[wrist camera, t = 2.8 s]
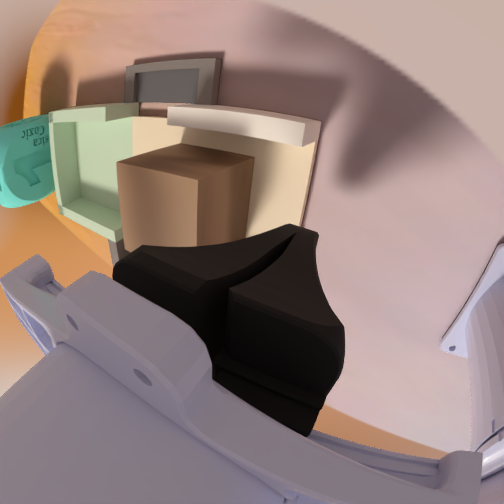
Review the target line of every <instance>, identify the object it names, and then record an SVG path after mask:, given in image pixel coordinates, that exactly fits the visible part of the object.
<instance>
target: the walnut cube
mask: <svg viewBox="0 0 504 504" xmlns="http://www.w3.org/2000/svg"><path fill="white" fill-rule="evenodd" d="M254 161H255V157H252V156H248V155H243V154H238V153H233V152H228V151H223V150H218V149H212V148H207V147H201V146H195V145H189V144H182V143H179V144H175V145H171V146H168V147H164V148H160V149H157V150H153V151H150V152H146V153H143V154H140V155H136V156H133V157H130V158H127V159H124V160H121V161H118V162H116V169H117V183H118V195H119V206H120V215H121V223H122V231H123V238H124V245H125V250H127V251H129V252H132V251H134V250H135V249H137V248H138V247H140V246H141V245H152V246H166V247H193V246H205V245H214V244H222V243H227V242H232V241H237V240H241V239H244V238H245V237H246V229H247V220H248V211H249V203H250V194H251V186H252V177H253V169H254Z"/></svg>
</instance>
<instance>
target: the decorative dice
mask: <svg viewBox="0 0 504 504" xmlns="http://www.w3.org/2000/svg"><path fill="white" fill-rule="evenodd" d="M54 191H55V183H54V176H53V169H52V160H51V149H50V136H49V114H45V115H39V116H34V117H30V118H26V119H22V120H19V121H15V122H13V123H9V124H6V125H4V126H1V127H0V205H2V206H4V207H8V208H14V207H20V206H24V205H28V204H31V203H33V202H36V201H39V200H41V199H43V198H45V197H47V196H48V195H50V194H51V193H53V192H54Z"/></svg>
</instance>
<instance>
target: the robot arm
mask: <svg viewBox="0 0 504 504" xmlns="http://www.w3.org/2000/svg"><path fill="white" fill-rule="evenodd" d="M318 238H319V235H318V233H317V232H315V231H312V230H309V229H306V228H303V227H299V226H296V225H293V224H290V223H289V224H285V225H283V226H280V227H277V228H275V229H272V230H269V231H266V232H263V233H261V234H258V235H254V236H251V237H248V238H244V239H241V240H237V241H232V242H227V243H222V244H214V245H205V246H193V247H166V246H152V245H141V246H140V247H138V248H137V249H135V250H134V251H132V252H131V253H129V254H128V255H126V256H125V257H123V258H122V259H121V260H119V261H118V262H116V264H115V266H114V267H113V275H112V276H113V279H111V278H110V277H108V276H106V275H104V274H101V273H98V272H95V271H89V272H88V273H87V274H85V275H84V276H82V277H81V278H80V279H78V280H77V281H75V282H74V283H72V284H71V285H69V286H68V287H67V288H64V287H63V286H62V285H61V284H60V283H58V282H57V281H56V280H55V279H54V275H53V272H52V269H51V267H50V265H49V263H48V262H47V261H46V260H45V259H43V258H42V257H41V256H40V255H39V254H36V255H35V256H33V257H32V258H30V259H28V260H27V261H25V262H24V263H22V264H21V265H19V266H18V267H16V268H15V269H13V270H12V271H10V272H9V273H7V274H6V275H5V276H3V277H2V278H0V283H1V286H2V288H3V290H4V292H5V295H6V296H7V299H8V301H9V303H10V305H11V307H12V309H13V311H14V312H15V314H16V316H17V318H18V320H19V321H20V323H21V324H22V326H23V327H24V328H25V330H26V331H27V332H28V334H29V335H30V336H31V337H32V339H33V340H34V341H35V343H36V344H37V345H38V347H39V348H40V349H41V350H42V352H43V353H44V354H45V355H46V356H45V357H44V358H42V359H41V360H40V361H39V362H38V363H37V364H36V365H35V366H34V367H32V368H31V369H30V370H29V371H28V372H27V373H26V374H25V375H24V376H22V377H21V378H20V379H19V380H18V381H17V382H16V383H15V384H14V385H13V386H12V387H11V388H10V389H9V390H8V391H6V392H5V393H4V394H3V395H2V396H1V397H0V504H504V243H502V244H500V245H498V247H497V248H496V250H495V252H494V254H493V256H492V258H491V260H490V262H489V264H488V266H487V268H486V270H485V272H484V274H483V275H482V277H481V279H480V281H479V283H478V284H477V286H476V288H475V290H474V291H473V293H472V295H471V296H470V298H469V300H468V301H467V303H466V304H465V306H464V308H463V309H462V311H461V312H460V314H459V315H458V317H457V318H456V320H455V321H454V323H453V324H452V326H451V327H450V329H449V330H448V331H447V333H446V334H445V336H444V337H443V338H442V340H441V341H440V349H441V350H442V351H445V352H448V353H451V354H454V355H457V356H460V357H463V358H466V359H468V365H469V374H470V387H471V409H472V431H471V451H454V452H451V453H449V454H447V455H445V456H444V457H443V458H441V459H440V460H438V459H430V458H424V457H417V456H411V455H406V454H400V453H396V452H391V451H387V450H382V449H378V448H373V447H370V446H366V445H362V444H358V443H355V442H350V441H348V440H344V439H341V438H338V437H334V436H331V435H328V434H325V433H322V432H319V431H316V430H313V426H314V424H315V422H316V419H317V416H318V414H319V411H320V410H321V409H322V407H323V405H324V402H325V399H326V397H327V395H328V393H329V392H330V390H331V389H332V387H333V386H334V384H335V383H336V381H337V380H338V378H339V377H340V374H341V372H342V369H343V364H344V357H345V331H344V326H343V324H342V323H341V322H340V320H339V319H338V317H337V316H336V315H335V313H334V312H333V311H332V309H331V307H330V305H329V303H328V301H327V299H326V297H325V294H324V292H323V289H322V286H321V283H320V280H319V276H318V271H317V265H316V245H317V242H318ZM450 346H453V347H450Z"/></svg>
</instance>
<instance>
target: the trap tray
mask: <svg viewBox="0 0 504 504" xmlns="http://www.w3.org/2000/svg"><path fill="white" fill-rule="evenodd" d="M221 60H222V59H218V58H202V59H183V60H171V61H161V62H152V63H145V64H138V65H131V66H126V76H125V95H124V103H106V104H92V105H82V106H74V107H69V108H64V109H60V110H56V111H51V112H48V113H49V136H50V149H51V160H52V169H53V176H54V183H55V190H56V196H57V202H58V207H59V212H60V214H62V215H64V216H66V217H67V218H69V219H71V220H73V221H75V222H77V223H79V224H80V225H82V226H84V227H86V228H88V229H90V230H92V231H94V232H96V233H98V234H100V235H102V236H104V237H106V238H107V239H108V241H109V247H110V252H111V257H112V263H113V267H114V266H115V264H116V262H118V261H119V260H121V259H122V258H123V257H125V256H126V255H128V254H129V253H131V252H129V251H127V250H125V245H124V238H123V231H122V223H121V215H120V206H119V195H118V183H117V169H116V162H118V161H121V160H124V159H127V158H130V157H133V156H136V155H140V154H143V153H146V152H150V151H153V150H157V149H160V148H164V147H168V146H171V145H175V144H179V143H182V144H189V145H195V146H201V147H207V148H212V149H218V150H223V151H228V152H233V153H238V154H243V155H248V156H252V157H255V161H254V169H253V177H252V186H251V194H250V203H249V211H248V220H247V229H246V237H245V238H248V237H251V236H254V235H258V234H261V233H263V232H266V231H269V230H272V229H275V228H277V227H280V226H283V225H285V224H289V223H290V224H293V225H296V226H299V227H301V224H302V220H303V215H304V210H305V206H306V201H307V196H308V191H309V186H310V181H311V176H312V171H313V166H314V161H315V155H316V150H317V144H318V139H319V133H320V128H321V121H317V120H312V119H308V118H303V117H298V116H293V115H287V114H282V113H276V112H269V111H263V110H256V109H249V108H241V107H232V106H222V105H217V97H218V87H219V78H220V69H221ZM139 102H163V103H190V104H192V105H179V106H168V115H167V117H160V116H139Z"/></svg>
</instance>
